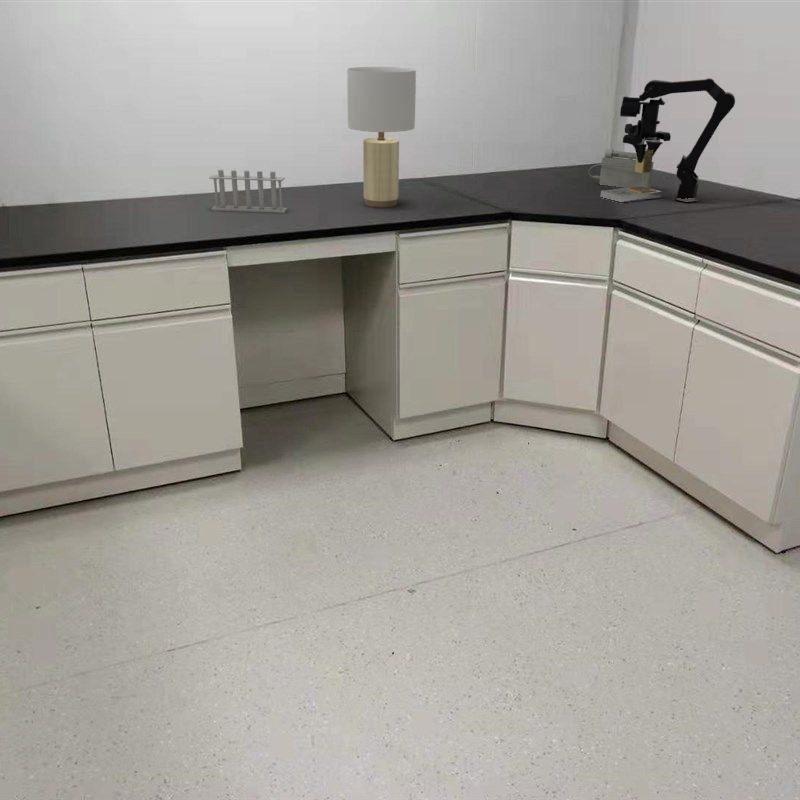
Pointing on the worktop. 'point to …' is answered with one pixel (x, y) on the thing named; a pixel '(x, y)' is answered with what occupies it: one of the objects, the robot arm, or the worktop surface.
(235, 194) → the test tube rack
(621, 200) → the rail plate
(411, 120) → the lamp
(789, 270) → the worktop surface
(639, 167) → the brass peg
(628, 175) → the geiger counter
